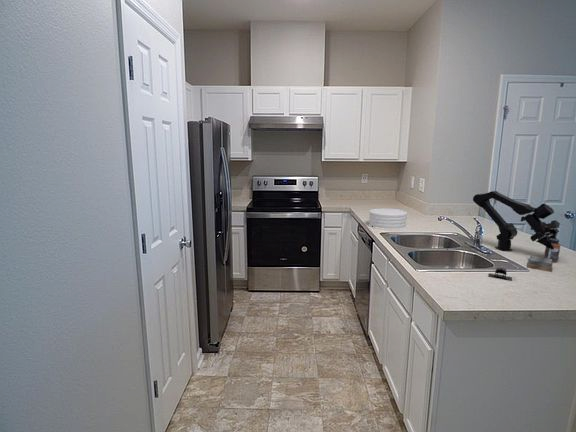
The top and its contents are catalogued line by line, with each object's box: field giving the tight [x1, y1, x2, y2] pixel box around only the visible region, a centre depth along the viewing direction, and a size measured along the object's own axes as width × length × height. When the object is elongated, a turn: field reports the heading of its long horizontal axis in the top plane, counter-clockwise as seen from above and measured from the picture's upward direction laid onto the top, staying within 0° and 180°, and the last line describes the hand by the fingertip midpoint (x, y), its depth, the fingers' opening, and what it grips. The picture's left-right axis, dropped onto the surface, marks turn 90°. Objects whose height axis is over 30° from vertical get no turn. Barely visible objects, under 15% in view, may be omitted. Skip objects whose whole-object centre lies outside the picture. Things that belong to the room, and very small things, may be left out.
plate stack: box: [368, 207, 408, 230], centre depth 258 cm, size 28×28×12 cm
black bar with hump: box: [487, 267, 513, 282], centre depth 155 cm, size 12×7×5 cm, turn 56°
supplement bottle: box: [543, 238, 561, 262], centre depth 176 cm, size 6×6×11 cm
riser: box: [526, 255, 554, 273], centre depth 168 cm, size 10×10×4 cm
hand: (555, 248), depth 174 cm, fingers closed on supplement bottle, 6 cm apart
